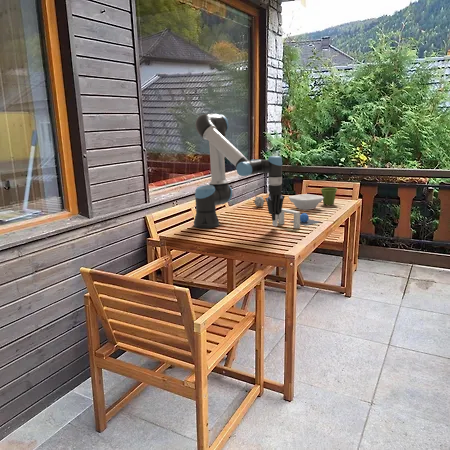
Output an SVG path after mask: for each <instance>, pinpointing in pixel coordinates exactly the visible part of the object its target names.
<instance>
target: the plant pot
mask: <svg viewBox="0 0 450 450" xmlns="http://www.w3.org/2000/svg"><path fill="white" fill-rule="evenodd" d="M320 191H321V196H322V197H324V198H323V200H322V201H323V205H325V204H327V205H326V206H333V205H335V201H336V200H335V199H336V194H337V191H338V188H337V187H322V188H320ZM332 204H333V205H332Z"/></svg>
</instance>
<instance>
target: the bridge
mask: <svg viewBox="0 0 450 450" xmlns="http://www.w3.org/2000/svg"><path fill="white" fill-rule="evenodd" d="M285 213H286V214H291V215H293V221H294V223H293V229H300V228H301V224H300V215H301V211H297V210H293V209H288V208H283V207H282V211H281V213H280V214H279V215H278V225H284V224H285Z"/></svg>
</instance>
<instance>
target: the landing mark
mask: <svg viewBox="0 0 450 450" xmlns="http://www.w3.org/2000/svg"><path fill="white" fill-rule="evenodd" d="M289 223H293V224H294V220H291V221H289ZM318 223H321V221H319V220H315V219H310V218H309V219H308V221H307V222H301V221H300V226H302V225H303V226H311V225H314V224H318Z"/></svg>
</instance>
